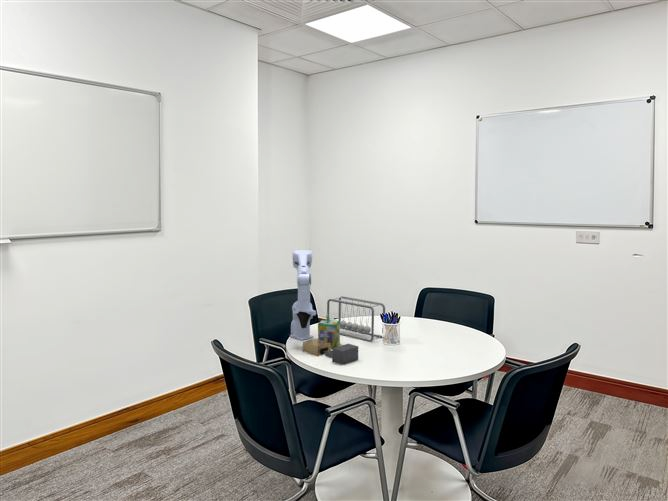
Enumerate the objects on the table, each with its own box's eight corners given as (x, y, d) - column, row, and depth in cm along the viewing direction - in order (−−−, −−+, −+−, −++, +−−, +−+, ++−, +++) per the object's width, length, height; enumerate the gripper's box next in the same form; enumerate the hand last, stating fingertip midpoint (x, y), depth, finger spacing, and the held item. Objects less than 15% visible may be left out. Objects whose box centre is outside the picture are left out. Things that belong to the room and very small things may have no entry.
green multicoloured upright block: (336, 349, 238) (337, 317, 236) (317, 347, 240) (317, 316, 238) (340, 343, 247) (340, 313, 245) (321, 342, 249) (322, 312, 247)
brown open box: (302, 351, 234) (302, 341, 234) (315, 347, 240) (315, 338, 239) (317, 356, 227) (317, 346, 227) (330, 352, 233) (330, 342, 232)
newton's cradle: (326, 331, 268) (326, 298, 266) (339, 327, 276) (339, 295, 274) (372, 342, 249) (373, 307, 247) (385, 338, 256) (385, 303, 255)
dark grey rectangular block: (319, 357, 225) (319, 344, 224) (335, 352, 232) (335, 339, 231) (342, 365, 215) (342, 351, 215) (358, 359, 222) (358, 346, 222)
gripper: (287, 298, 239) (287, 326, 241) (308, 302, 229) (308, 332, 231) (298, 296, 244) (298, 323, 246) (319, 300, 234) (319, 329, 236)
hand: (303, 327), depth 239 cm, fingers closed
